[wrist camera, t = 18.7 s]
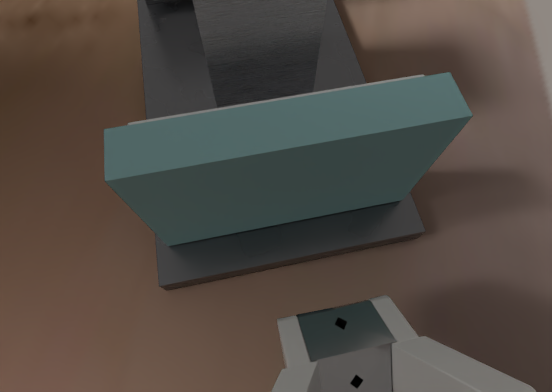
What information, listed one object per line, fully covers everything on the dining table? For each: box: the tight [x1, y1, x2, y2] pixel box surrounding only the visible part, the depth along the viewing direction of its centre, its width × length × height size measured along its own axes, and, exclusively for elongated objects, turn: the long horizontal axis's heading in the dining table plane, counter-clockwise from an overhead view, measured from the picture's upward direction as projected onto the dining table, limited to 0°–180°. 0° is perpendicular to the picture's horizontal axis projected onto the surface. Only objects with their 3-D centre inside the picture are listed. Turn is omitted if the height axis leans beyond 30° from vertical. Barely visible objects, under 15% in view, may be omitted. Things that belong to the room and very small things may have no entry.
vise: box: [137, 0, 425, 290], centre depth 16 cm, size 18×11×7 cm, turn 12°
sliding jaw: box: [104, 72, 473, 246], centre depth 13 cm, size 2×10×6 cm, turn 102°
